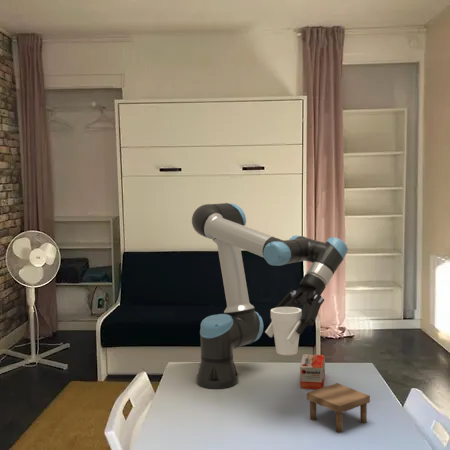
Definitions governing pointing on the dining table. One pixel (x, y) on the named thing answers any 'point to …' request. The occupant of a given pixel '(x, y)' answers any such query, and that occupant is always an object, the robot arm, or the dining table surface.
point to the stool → (338, 402)
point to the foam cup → (285, 328)
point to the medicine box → (312, 371)
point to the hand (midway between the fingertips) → (278, 338)
